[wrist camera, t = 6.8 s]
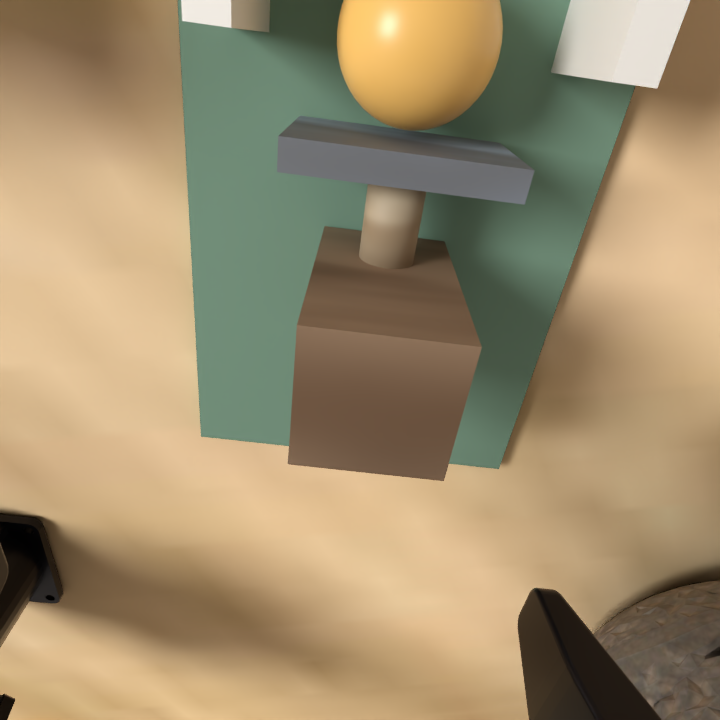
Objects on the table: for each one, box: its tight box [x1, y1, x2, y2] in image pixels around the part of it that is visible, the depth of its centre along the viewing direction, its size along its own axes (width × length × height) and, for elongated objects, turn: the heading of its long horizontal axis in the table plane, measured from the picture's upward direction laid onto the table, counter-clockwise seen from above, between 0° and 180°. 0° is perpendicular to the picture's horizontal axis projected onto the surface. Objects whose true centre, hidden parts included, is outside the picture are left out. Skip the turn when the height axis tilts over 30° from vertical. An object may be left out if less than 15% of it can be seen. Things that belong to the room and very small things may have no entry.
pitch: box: [178, 0, 636, 469], centre depth 17 cm, size 21×13×1 cm, turn 173°
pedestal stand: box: [277, 116, 535, 481], centre depth 14 cm, size 7×6×7 cm
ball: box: [337, 0, 503, 131], centre depth 13 cm, size 4×4×4 cm
